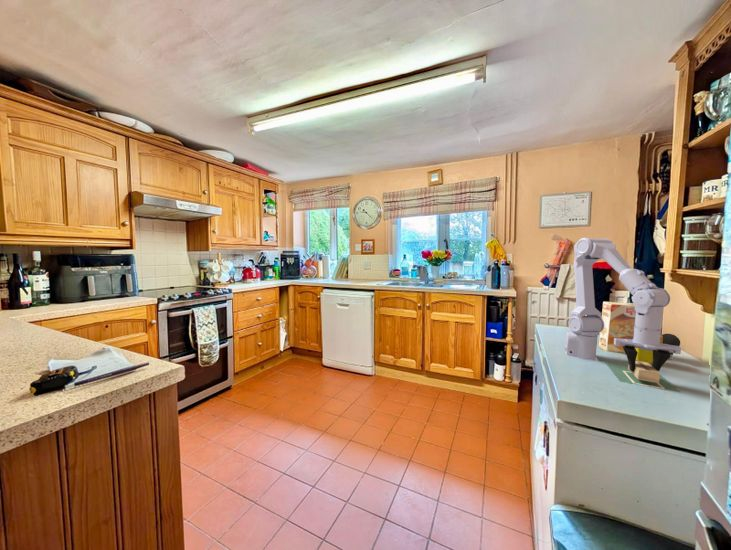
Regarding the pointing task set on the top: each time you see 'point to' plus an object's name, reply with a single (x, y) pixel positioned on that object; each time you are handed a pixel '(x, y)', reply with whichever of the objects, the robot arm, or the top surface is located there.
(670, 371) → the top surface
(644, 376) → the slotted wooden block
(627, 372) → the green mat
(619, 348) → the coffeecake box
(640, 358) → the supplement box
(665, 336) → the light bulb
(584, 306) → the robot arm
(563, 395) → the top surface
